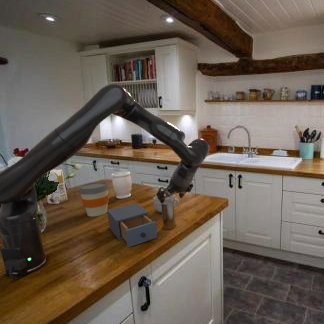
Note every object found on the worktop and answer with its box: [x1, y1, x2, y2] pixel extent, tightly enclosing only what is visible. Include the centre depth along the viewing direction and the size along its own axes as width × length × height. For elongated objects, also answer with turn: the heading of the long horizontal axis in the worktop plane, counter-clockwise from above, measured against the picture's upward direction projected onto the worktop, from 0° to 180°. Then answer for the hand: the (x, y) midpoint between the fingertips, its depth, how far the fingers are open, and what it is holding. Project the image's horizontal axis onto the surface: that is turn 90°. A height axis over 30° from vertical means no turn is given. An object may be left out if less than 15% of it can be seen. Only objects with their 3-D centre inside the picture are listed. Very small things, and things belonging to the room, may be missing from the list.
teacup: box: [152, 194, 180, 214], centre depth 128 cm, size 14×11×8 cm
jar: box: [111, 170, 133, 200], centre depth 151 cm, size 11×10×15 cm
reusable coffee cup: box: [78, 181, 110, 217], centre depth 126 cm, size 13×13×15 cm
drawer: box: [119, 215, 159, 248], centre depth 101 cm, size 15×11×7 cm
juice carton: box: [46, 168, 68, 205], centre depth 142 cm, size 8×9×19 cm
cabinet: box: [107, 202, 150, 241], centre depth 109 cm, size 15×13×9 cm
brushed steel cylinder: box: [161, 200, 176, 230], centre depth 110 cm, size 5×5×12 cm
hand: (170, 198), depth 106 cm, fingers open, 8 cm apart
